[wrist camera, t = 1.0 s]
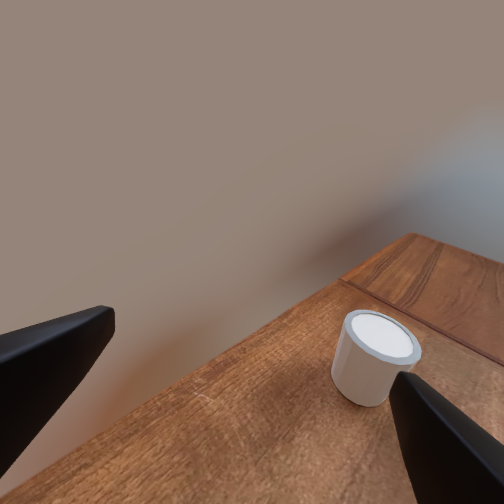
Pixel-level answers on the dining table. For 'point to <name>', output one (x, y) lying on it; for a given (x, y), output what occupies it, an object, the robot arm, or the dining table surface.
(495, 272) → the dining table surface
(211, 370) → the dining table surface
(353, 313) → the faceted white cup
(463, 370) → the dining table surface
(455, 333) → the dining table surface
